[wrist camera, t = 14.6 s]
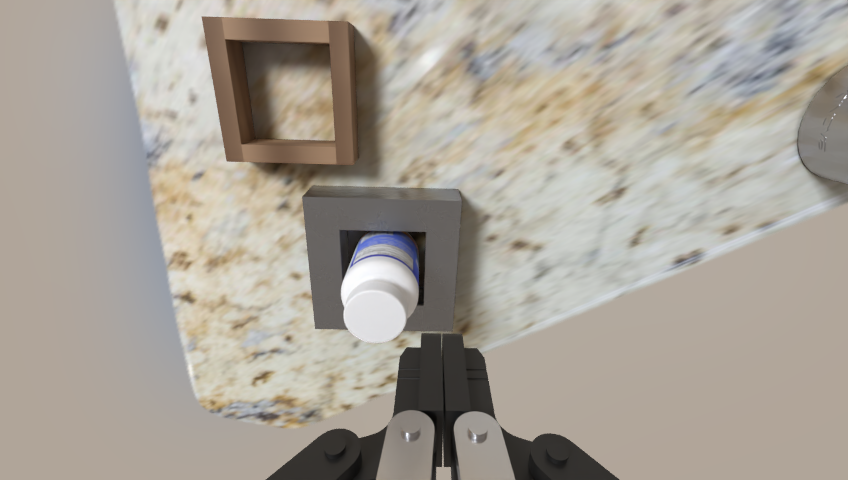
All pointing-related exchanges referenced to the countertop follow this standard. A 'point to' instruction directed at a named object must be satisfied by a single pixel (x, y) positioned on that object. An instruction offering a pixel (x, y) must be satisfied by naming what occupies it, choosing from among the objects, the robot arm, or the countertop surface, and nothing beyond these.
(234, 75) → the walnut stand
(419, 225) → the steel block
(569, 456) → the robot arm
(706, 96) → the countertop surface
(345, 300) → the pill bottle
